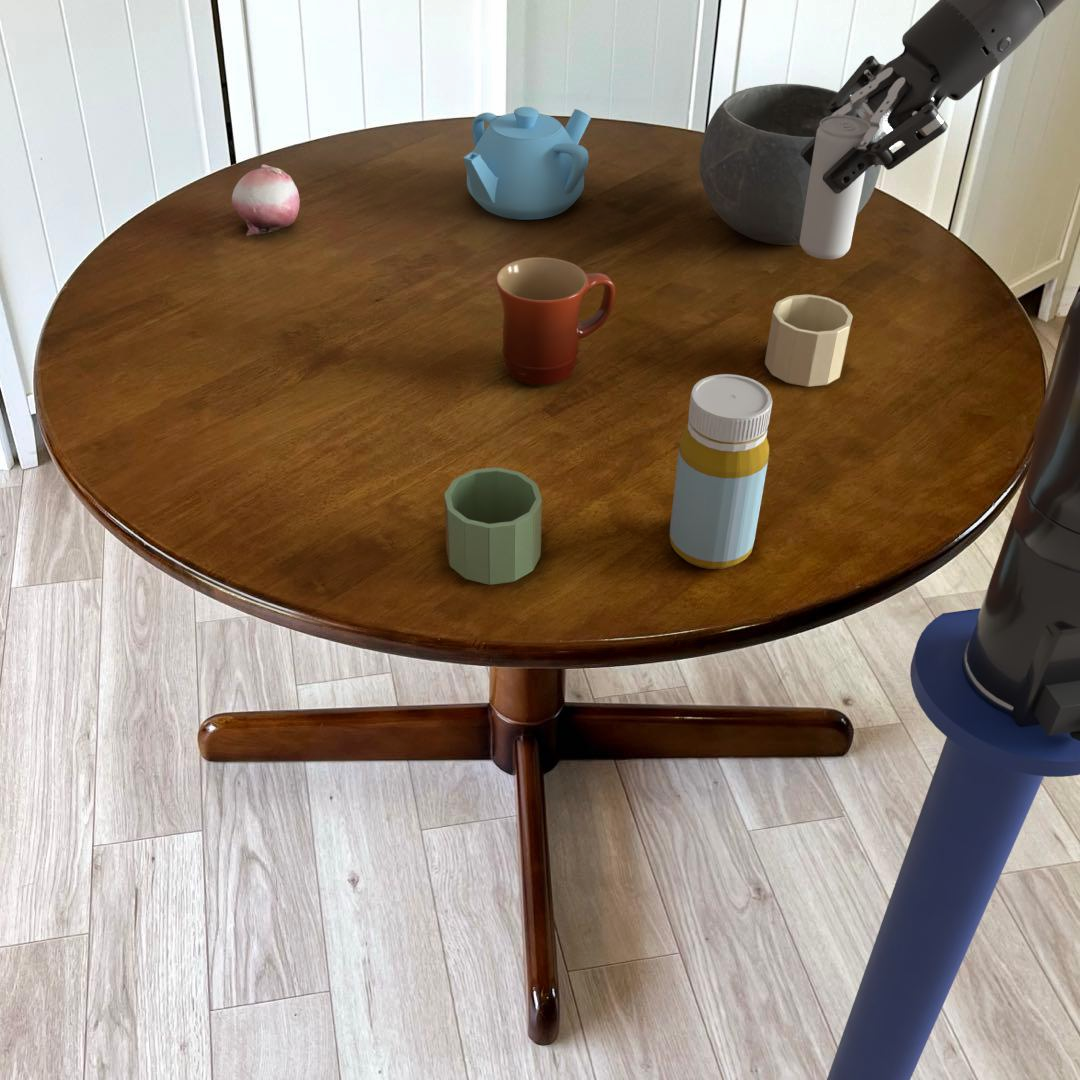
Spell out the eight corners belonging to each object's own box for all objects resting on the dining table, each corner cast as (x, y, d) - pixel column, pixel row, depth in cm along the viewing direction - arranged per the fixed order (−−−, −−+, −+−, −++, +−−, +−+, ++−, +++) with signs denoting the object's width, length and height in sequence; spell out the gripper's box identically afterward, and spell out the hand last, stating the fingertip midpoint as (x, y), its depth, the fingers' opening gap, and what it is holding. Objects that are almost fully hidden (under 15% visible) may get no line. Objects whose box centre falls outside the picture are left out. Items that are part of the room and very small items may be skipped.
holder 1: (547, 577, 100) (549, 520, 96) (455, 589, 99) (452, 531, 95) (529, 519, 106) (530, 463, 102) (441, 529, 104) (439, 473, 101)
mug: (513, 401, 119) (513, 307, 113) (484, 356, 126) (483, 264, 119) (626, 379, 123) (633, 287, 116) (593, 336, 129) (598, 246, 122)
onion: (316, 227, 147) (310, 169, 142) (265, 249, 142) (257, 191, 138) (272, 207, 151) (264, 150, 146) (221, 228, 146) (212, 170, 142)
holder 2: (852, 382, 123) (864, 329, 119) (780, 389, 122) (790, 336, 118) (824, 343, 129) (834, 291, 125) (755, 349, 128) (763, 298, 124)
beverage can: (838, 236, 119) (860, 112, 111) (858, 259, 115) (882, 132, 107) (791, 240, 118) (809, 116, 110) (809, 263, 114) (830, 136, 107)
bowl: (901, 240, 147) (929, 116, 137) (779, 289, 137) (800, 160, 128) (778, 181, 159) (796, 63, 149) (659, 222, 150) (669, 99, 140)
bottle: (767, 563, 102) (794, 412, 92) (690, 581, 100) (710, 429, 90) (729, 512, 107) (751, 364, 97) (655, 528, 105) (670, 379, 95)
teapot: (608, 222, 149) (613, 131, 142) (465, 229, 147) (463, 138, 140) (587, 170, 161) (590, 83, 154) (454, 176, 159) (451, 89, 152)
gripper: (914, -26, 109) (766, 117, 115) (991, 25, 98) (824, 180, 104) (956, 33, 113) (811, 168, 119) (1034, 88, 102) (871, 234, 108)
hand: (818, 173), depth 111 cm, fingers closed on beverage can, 5 cm apart
